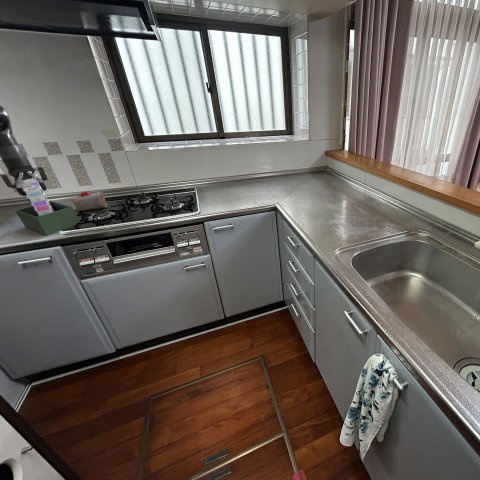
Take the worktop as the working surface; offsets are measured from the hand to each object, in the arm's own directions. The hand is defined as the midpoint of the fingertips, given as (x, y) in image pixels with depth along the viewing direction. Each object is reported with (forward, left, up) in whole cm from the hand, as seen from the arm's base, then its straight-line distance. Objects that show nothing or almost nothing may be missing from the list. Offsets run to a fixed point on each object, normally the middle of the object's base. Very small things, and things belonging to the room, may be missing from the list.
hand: (34, 193), depth 121 cm
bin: (0, 0, -17) cm, 17 cm away
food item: (+10, +18, -17) cm, 27 cm away
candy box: (0, 0, -13) cm, 13 cm away
